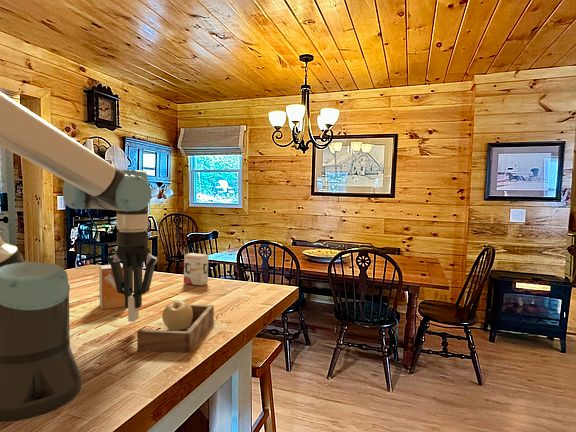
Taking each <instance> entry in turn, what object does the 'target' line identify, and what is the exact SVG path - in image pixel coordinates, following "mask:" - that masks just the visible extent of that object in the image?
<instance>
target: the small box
mask: <svg viewBox="0 0 576 432" xmlns="http://www.w3.org/2000/svg"><path fill="white" fill-rule="evenodd" d="M120 265H121V269H122V273H123V277H124V270H123V263H120ZM98 271H99V273H98V276H99V281H98V282H99V292H98V293H99V306H100V308H101V310H108V309H109V310H110V309H117V308H123V307H124V308H126V307H125V296H124V294H121V293H120V294H119V293H118V292H117V289H116V284H115V280H114V276H113V272H112V268H111V265H110V264H104V265H99V266H98Z"/></svg>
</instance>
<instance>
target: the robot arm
mask: <svg viewBox="0 0 576 432" xmlns="http://www.w3.org/2000/svg"><path fill="white" fill-rule="evenodd" d="M0 146H1V147H3V148H5V149H6V150H8V151H10V152H12V153H13V154H16V155H17V156H19V157H21V158H23V159H25V160H26V161H28V162H30V163H31V164H33V165H36V166H37V167H39V168H41V169H42V170H45V171H46V172H48V173H50V174H52V175H53V176H55V177H57V178H59V179H61V180H63V181H64V183H63V186H62V196H63V201H64V203H65V204H66V206H67V207H68V208H70V209H76V210H77V209H81V210H86V209H88V210H89V209H93V210H94V209H95V210H112V211H116V229H117V230H118V231H117V233H116V246H117V248H116V251H115V253H114V254H112V255H110V256H108V257H107V258H106V260H107V262H108V265H111V268H112V272H113V276H114V280H115V284H116V289H117V292H118V293H119V294H120V293H121V294H124V296H125V307H124V308H125V309H127V316H128V317H127V321H128V322H131V323H132V322H135V321H137V320H139V318H140V314H139V313H140V310H139V309H140V308H141V307H142V305H143V303H142V302H143V295H145V294H146V293H148V292H149V291H150V287H151V284H152V279H153V275H154V271H155V266H156V264H157V263H158V262H159V260H160V259H159V257H158V256H155V255H152V254H151V252H150V249H149V231H148V229H149V203H150V201H151V199H152V194H153V193H152V187H151V186H150V183H149V180H148V179H149V177H148V173H146V171H144V170H139V169H138V170H137V169H136V170H135V169H119V168H118V167H117V166H115V165H113V164H111V163H110V162H109V161H107V160H105V159H104V158H103V157H101V156H99V155H98V154H96V153H94V152H93V151H91V150H90V149H89V148H87V147H85V146H84V145H82V144H81V143H79V142H78V141H77V140H75V139H73V138H71V137H70V136H69V135H67V134H66V133H64V132H63V131H62V130H60V129H58V128H56V127H55V126H54V125H52V124H51V123H49V122H48V121H46V120H44V119H43V118H42V117H40V116H39V115H37V114H35V112H32V111H31V110H30V109H28V108H27V107H25V106H23V105H22V104H20V103H19V102H18V101H16V100H14V99H13V98H11V97H10V96H8V95H7V94H5V93H3V92H2V91H1V90H0ZM2 238H3V237H2V236H1V235H0V422H13V421H20V420H21V421H22V420H26V419H30V418H33V417H37V416H40V415H43V414H46V413H48V412H49V413H50V412H51V411H53V410H56V409H58V408H60V407H61V406H64V405H65V404H67V403H68V402H70V401H71V400H73V398H75V397H76V396H77V395H78V394H79V392H80V391H81V389H82V373H81V370H80V368H79V367H78V365H77V361H76V358H75V356H74V353H73V352H72V349H71V343H70V342H71V341H70V339H71V338H70V337H71V336H70V288H71V287H70V285H71V284H70V283H69V276H68V273H67V271H66V270H65V268H63V267H62V266H60V265H58V264H55V263H50V262H40V261H25V259H24V258H23V257H24V256H23V255H22V254H21V252H20V250H19V247H17V245H14V244H11V243H6V242H5V241H4V240H3V239H2ZM145 261H146V263H147V264H146V266H145V271H144V275H143V269H144V263H145ZM120 264H123V270H124V277H123V273H122V269H121V265H120Z"/></svg>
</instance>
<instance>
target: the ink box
mask: <svg viewBox="0 0 576 432" xmlns="http://www.w3.org/2000/svg"><path fill="white" fill-rule="evenodd" d="M183 257H184V260H183V262H184V263H183V284H189V285H194V286H196V285H197V286H203V285H206V284H208V283H209V281H208V280H209V278H208V277H209V254H206V253H205V254H204V253H198V252H197V253H196V252H190V253H186V254H184V256H183Z"/></svg>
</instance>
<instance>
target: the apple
mask: <svg viewBox="0 0 576 432" xmlns="http://www.w3.org/2000/svg"><path fill="white" fill-rule="evenodd" d="M190 305H191V304H189V303H188V302H186V301H185V300H181V299H180V300H174V301H171V302H170V303H168V304H167V305H166V306H165V307H164V309H163V310H162V314H161V315H162V317H161V318H162V321H163V324H164V326H165V327H166V328H167V329H168V330H169V331H184V330H185V329H187V328H188V327H189V326H190V325H191V324H192V322H191V321H192V319H193V310H192V308H191V306H190Z"/></svg>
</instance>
